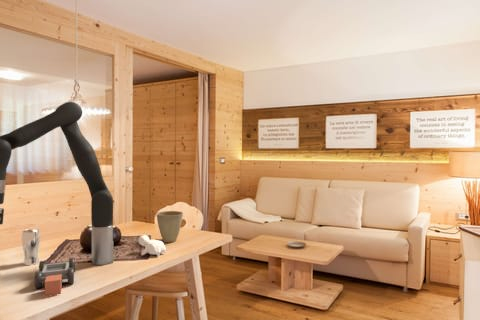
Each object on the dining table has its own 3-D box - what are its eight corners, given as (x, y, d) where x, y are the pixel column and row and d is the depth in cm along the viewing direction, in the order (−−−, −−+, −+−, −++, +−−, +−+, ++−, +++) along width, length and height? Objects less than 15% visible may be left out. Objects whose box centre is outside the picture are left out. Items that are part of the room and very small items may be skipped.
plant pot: (186, 238, 206) (186, 211, 205) (177, 245, 191) (177, 216, 190) (162, 236, 208) (162, 210, 208) (151, 243, 194) (152, 215, 193)
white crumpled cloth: (164, 258, 178) (143, 244, 183) (169, 244, 176) (147, 230, 181) (154, 263, 170) (131, 248, 175) (159, 248, 168) (136, 233, 174)
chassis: (74, 269, 152) (74, 255, 151) (73, 285, 134) (73, 270, 134) (40, 273, 146) (40, 259, 146) (34, 290, 129) (34, 274, 129)
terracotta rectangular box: (61, 288, 132) (61, 274, 132) (60, 294, 126) (60, 279, 126) (46, 290, 130) (46, 276, 130) (44, 297, 124) (44, 281, 124)
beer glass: (27, 260, 162) (26, 229, 161) (42, 260, 163) (42, 228, 162) (18, 266, 155) (18, 232, 154) (35, 265, 156) (34, 232, 155)
